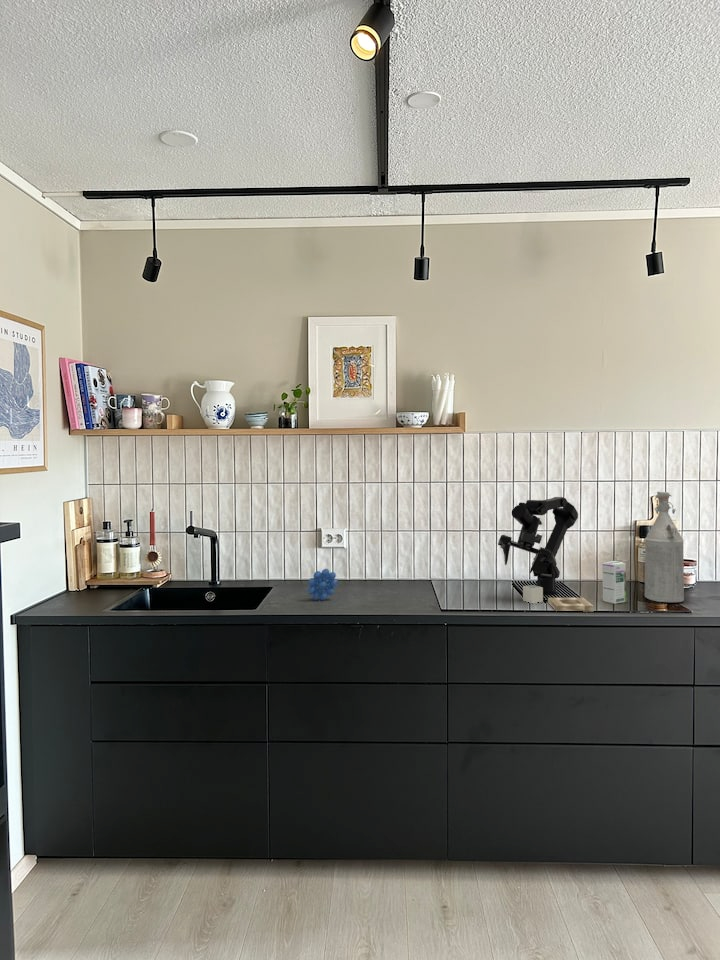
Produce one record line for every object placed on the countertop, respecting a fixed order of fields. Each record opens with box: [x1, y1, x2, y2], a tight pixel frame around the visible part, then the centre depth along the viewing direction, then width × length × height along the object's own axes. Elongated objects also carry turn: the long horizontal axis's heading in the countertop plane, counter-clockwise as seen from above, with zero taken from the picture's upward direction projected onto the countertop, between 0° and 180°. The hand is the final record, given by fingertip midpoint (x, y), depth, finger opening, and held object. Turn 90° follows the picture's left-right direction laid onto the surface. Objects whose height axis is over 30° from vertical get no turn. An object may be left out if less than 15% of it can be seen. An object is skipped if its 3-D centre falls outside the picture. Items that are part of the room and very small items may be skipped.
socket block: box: [547, 597, 595, 613], centre depth 222 cm, size 12×12×2 cm
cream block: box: [522, 584, 544, 604], centre depth 232 cm, size 5×5×6 cm
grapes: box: [307, 568, 339, 601], centre depth 241 cm, size 12×7×12 cm, turn 96°
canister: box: [644, 491, 685, 603], centre depth 232 cm, size 13×17×40 cm
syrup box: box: [601, 560, 627, 605], centre depth 230 cm, size 6×6×14 cm
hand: (517, 568), depth 231 cm, fingers open, 9 cm apart
